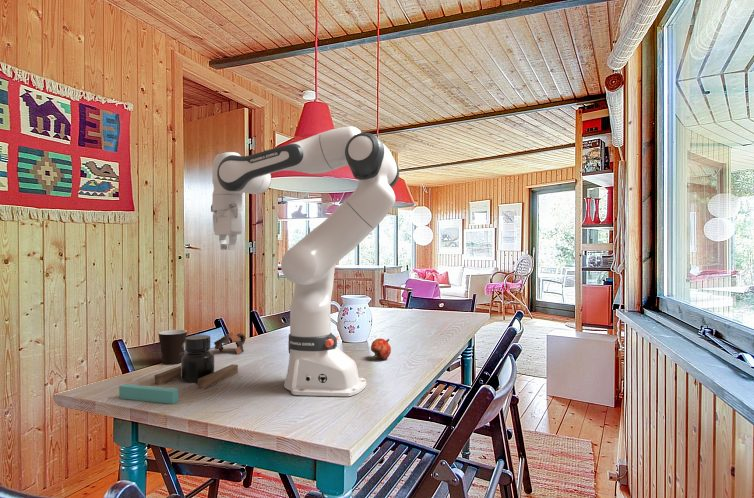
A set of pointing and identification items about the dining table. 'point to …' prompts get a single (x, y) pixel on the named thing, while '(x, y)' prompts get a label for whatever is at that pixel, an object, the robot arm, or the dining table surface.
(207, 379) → the lane
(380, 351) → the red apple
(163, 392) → the bar
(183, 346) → the coffee mug
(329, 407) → the dining table surface
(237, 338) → the brown animal figurine
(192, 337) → the ink bottle
